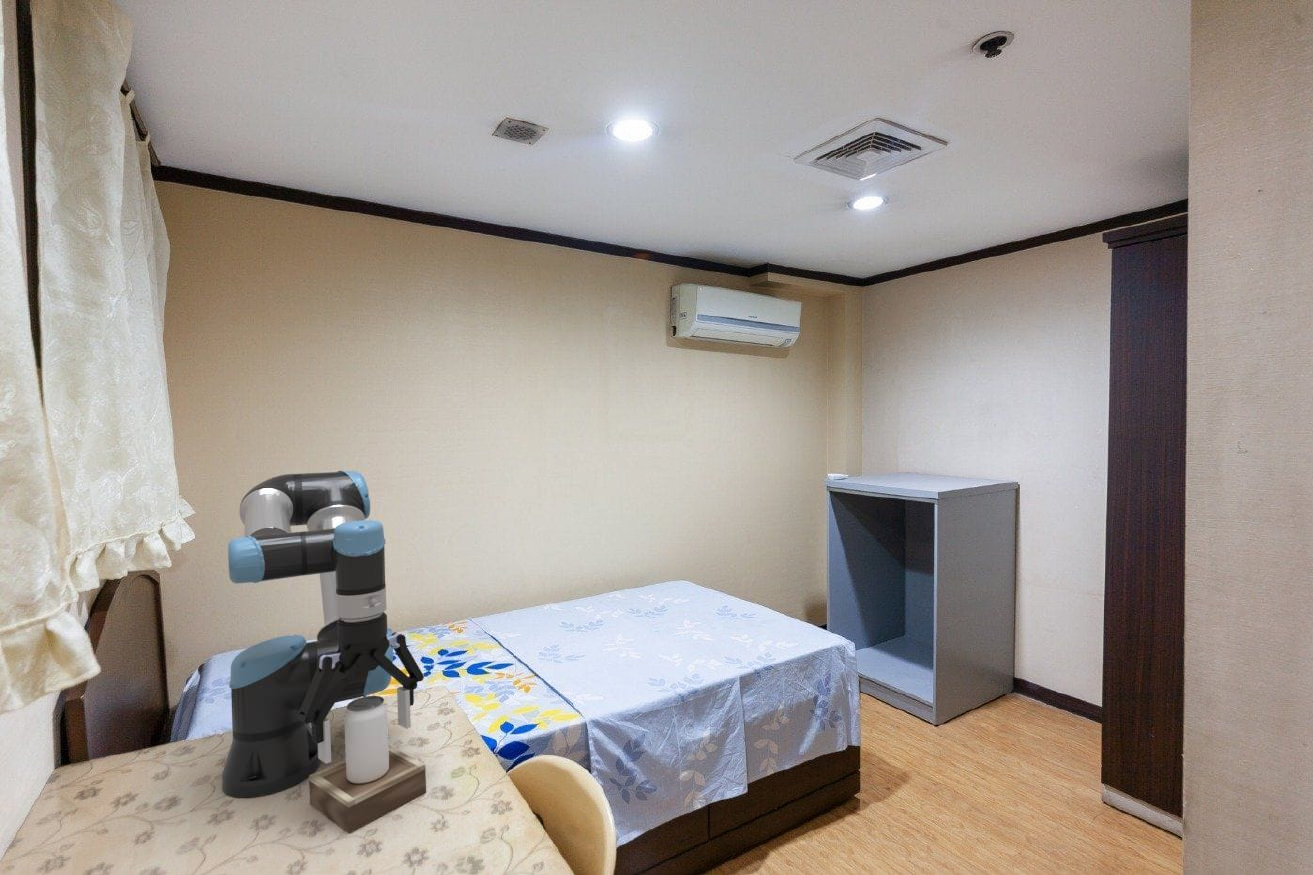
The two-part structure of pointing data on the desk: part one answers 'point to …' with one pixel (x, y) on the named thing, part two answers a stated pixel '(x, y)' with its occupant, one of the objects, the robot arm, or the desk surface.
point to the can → (366, 740)
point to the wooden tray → (366, 791)
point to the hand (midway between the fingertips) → (366, 742)
